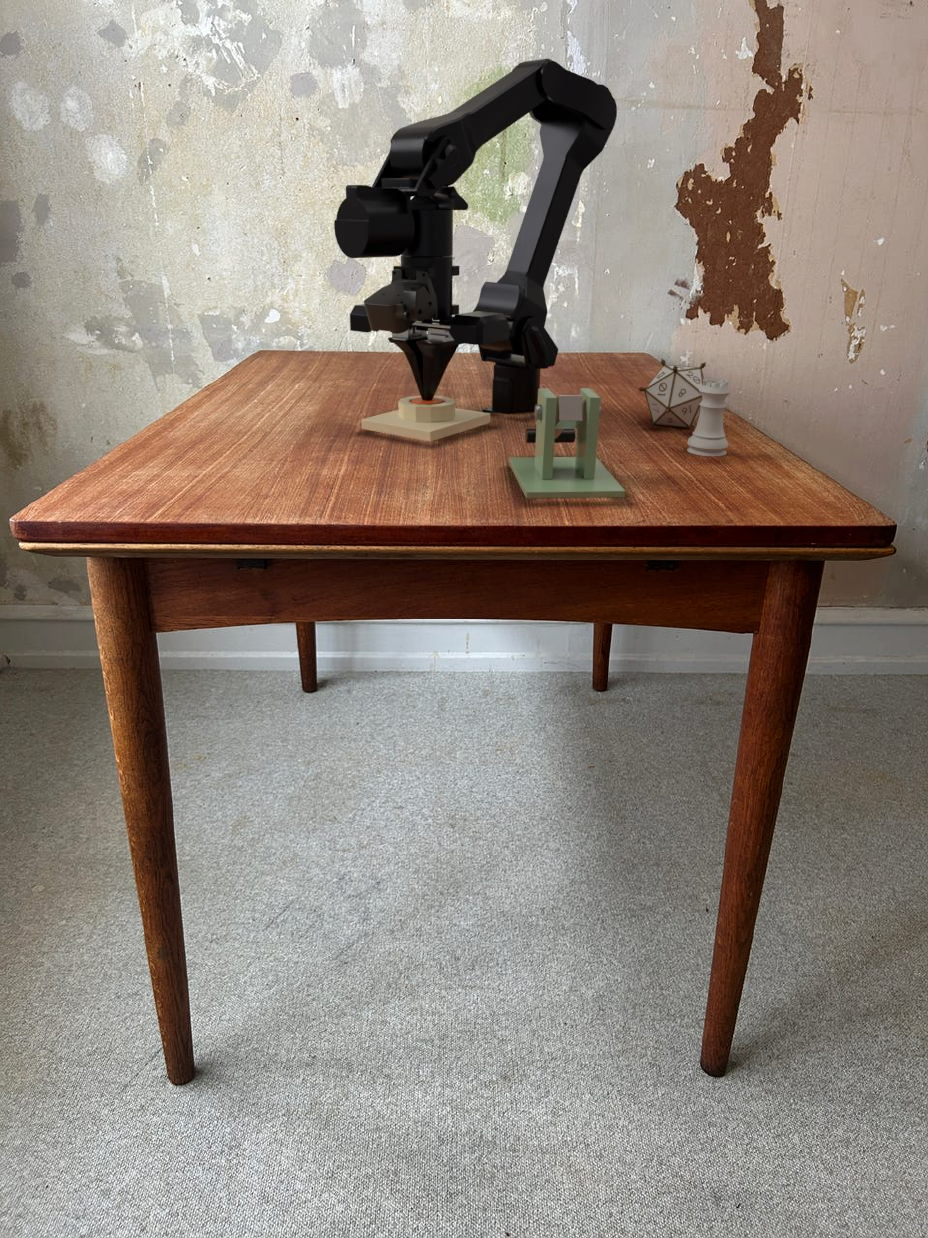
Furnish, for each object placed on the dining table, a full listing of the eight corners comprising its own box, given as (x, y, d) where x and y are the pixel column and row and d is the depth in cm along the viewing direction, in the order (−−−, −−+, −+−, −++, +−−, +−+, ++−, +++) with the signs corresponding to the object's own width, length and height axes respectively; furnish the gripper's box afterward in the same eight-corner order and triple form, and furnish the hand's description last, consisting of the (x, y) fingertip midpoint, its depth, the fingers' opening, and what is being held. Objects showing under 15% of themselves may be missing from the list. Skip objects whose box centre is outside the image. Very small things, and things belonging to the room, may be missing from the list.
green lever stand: (508, 468, 91) (511, 380, 87) (595, 467, 91) (602, 380, 88) (526, 504, 80) (530, 406, 76) (624, 503, 80) (633, 405, 77)
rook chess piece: (704, 463, 93) (714, 386, 90) (676, 453, 97) (685, 379, 94) (736, 459, 95) (747, 383, 92) (707, 449, 99) (717, 376, 95)
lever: (525, 449, 92) (524, 426, 92) (573, 448, 92) (572, 425, 92) (544, 421, 81) (543, 395, 81) (598, 420, 81) (597, 394, 81)
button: (424, 410, 107) (424, 395, 106) (448, 414, 105) (448, 399, 104) (405, 415, 104) (405, 400, 103) (430, 419, 102) (430, 404, 102)
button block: (424, 416, 112) (424, 388, 111) (490, 427, 107) (490, 398, 106) (361, 433, 103) (360, 403, 102) (430, 446, 98) (430, 415, 97)
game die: (682, 457, 110) (739, 392, 107) (670, 447, 102) (731, 376, 99) (629, 413, 112) (683, 348, 110) (613, 400, 105) (671, 329, 102)
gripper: (312, 254, 96) (320, 400, 103) (452, 262, 86) (451, 423, 93) (379, 251, 104) (382, 386, 111) (513, 258, 95) (508, 406, 101)
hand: (427, 399), depth 104 cm, fingers closed, pressing on button
